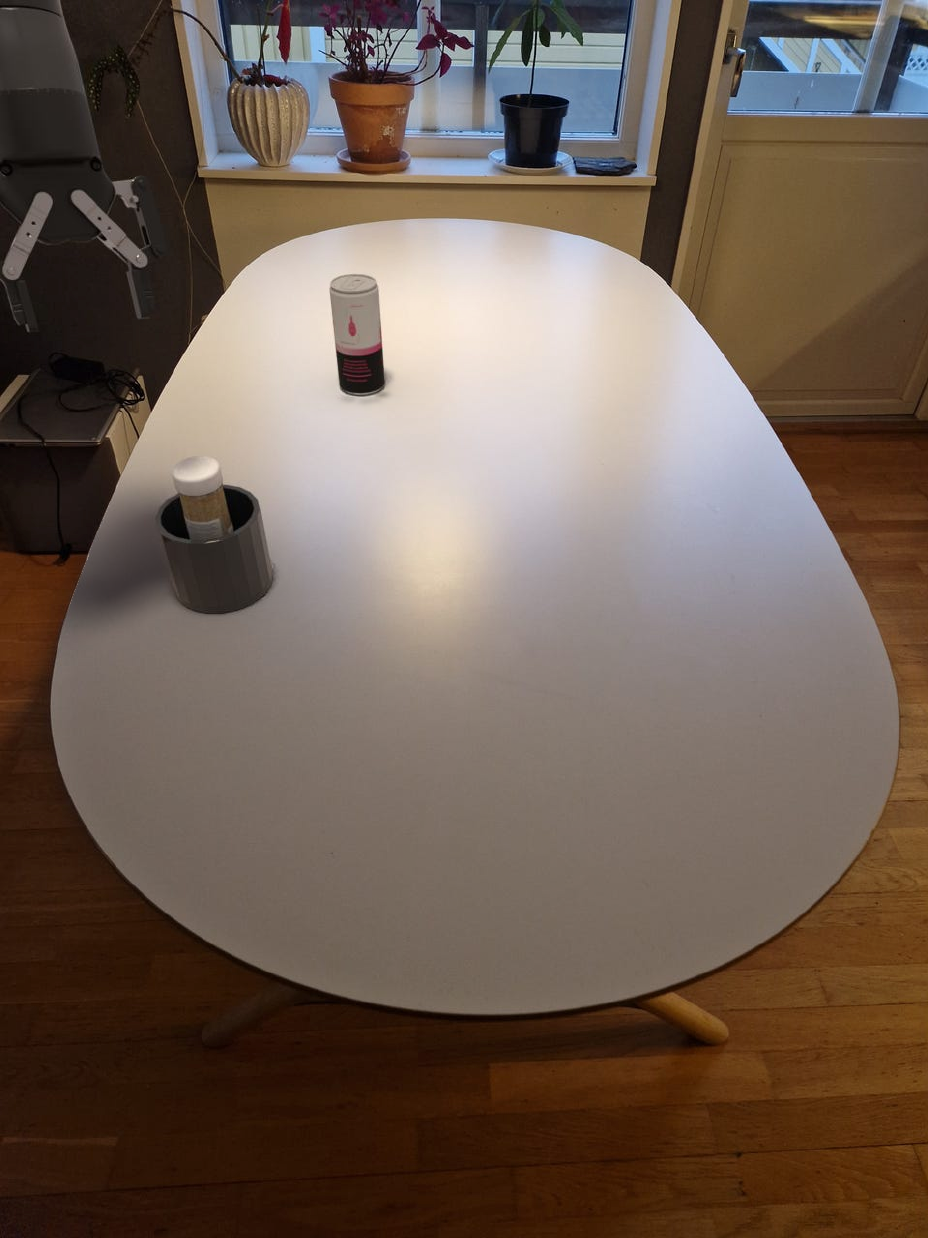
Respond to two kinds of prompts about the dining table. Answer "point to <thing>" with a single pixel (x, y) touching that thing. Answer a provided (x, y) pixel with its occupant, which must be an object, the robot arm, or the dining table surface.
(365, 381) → the beverage can
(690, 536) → the dining table surface
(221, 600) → the dark gray cylindrical container
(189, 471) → the sprinkles bottle
